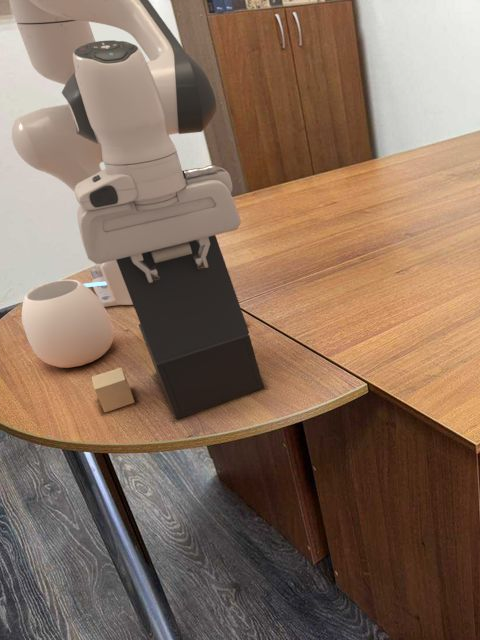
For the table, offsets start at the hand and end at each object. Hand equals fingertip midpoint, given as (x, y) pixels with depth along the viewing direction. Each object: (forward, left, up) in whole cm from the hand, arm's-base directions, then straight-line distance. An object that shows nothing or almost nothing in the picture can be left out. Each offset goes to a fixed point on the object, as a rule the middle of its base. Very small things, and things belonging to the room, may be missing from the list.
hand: (178, 273), depth 93 cm
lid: (-2, 0, -4) cm, 4 cm away
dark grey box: (-6, +2, -22) cm, 23 cm away
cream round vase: (-33, -9, -22) cm, 41 cm away
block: (-13, -11, -22) cm, 27 cm away
